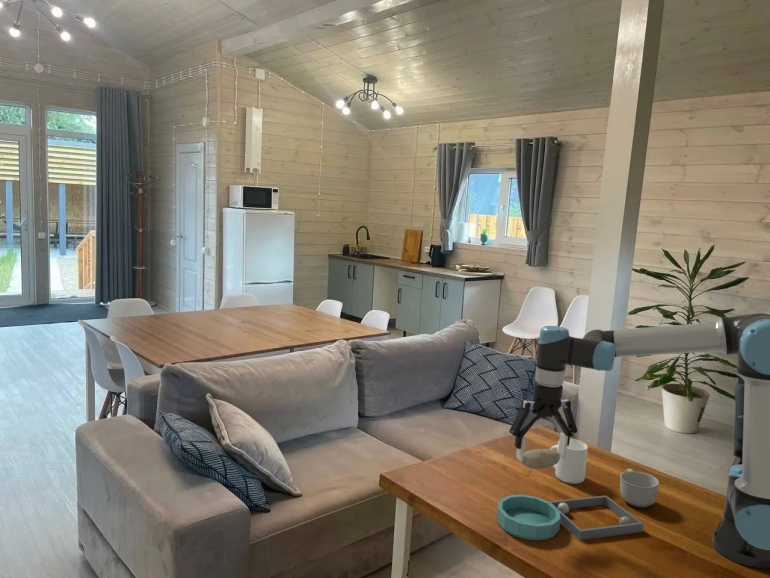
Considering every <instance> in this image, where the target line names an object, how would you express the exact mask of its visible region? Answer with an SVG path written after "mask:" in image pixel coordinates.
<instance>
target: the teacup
mask: <svg viewBox="0 0 770 578" xmlns="http://www.w3.org/2000/svg"><path fill="white" fill-rule="evenodd" d="M619 478H620V480H619V492H620V496H621V498H623V500H624V501H626V503H627V504H629V506H633V507H635V508H641V509H642V508H648V507H649V506H652V505H654V504H655V503H656V502H657V499H658V493H659V492H658V491H659V485H660V482H659V480H658V478H656V477H655V476H653V475H651V474H649V473H646V472H642V471H636V470H635V471H634V470H633V469H632V468H627V469H626V470H625V471H624V472H622V473H621V474H620V477H619Z"/></svg>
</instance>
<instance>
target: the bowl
mask: <svg viewBox="0 0 770 578" xmlns="http://www.w3.org/2000/svg"><path fill="white" fill-rule="evenodd" d="M496 512H497V515H496V522H497V523H498V525H499V526H500V528H501V529H502V530H504V531H505V532H506V533H508V534H509V535H512V536H514V537H516V538H520V539H522V540H528V541H546V540H550V539H552V538H554V537H555V536H556V535H557V534H558V533H559V531H560V528H561V522H560V511H559V510H558V509H557V508H556V507H555V506H554V505H553V504H552V503H550V502H549V501H548V500H545V499H542V498H541V497H538V496H533V495H526V494H512V495H511V494H510V495H507V496H505V497H502V498H500V499H499V500H498V504H497V511H496Z"/></svg>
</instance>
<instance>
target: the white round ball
mask: <svg viewBox="0 0 770 578" xmlns="http://www.w3.org/2000/svg"><path fill="white" fill-rule="evenodd" d="M558 509H559V510H560V511H561V512H562V513H563V514H564V515H566V514H568V513H569V511H570V508H569V506H568V505H567V504H566V503H560V504H559V505H558Z"/></svg>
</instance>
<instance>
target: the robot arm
mask: <svg viewBox="0 0 770 578" xmlns="http://www.w3.org/2000/svg"><path fill="white" fill-rule="evenodd" d="M537 344H538V345H537V354H536V355H537V356H536V365H535V376H534V380H535V382H534V384H533V392H532V394H533V399H532V400H531V401H530V400H529V401H528V400H527V399H523V400H522V401H521V407H520V408H519V411H518V413H517V414H516V416H515V419H514V421H513V423H512V425H511V427H510V429H508V430H509V431H508V432H509V433H510V434H511V435H512V436H514V437H515V438H514V439H515V440H514V447H515V448H516V453H515V454H516V455H515V456H516V457H515V458H516V459H517V460H518V461H520V462H522V461H523V459H524V452H525V447H526V440H527V439H526V437H525V435H527V433H528V431H529V430H530V429H531V428H532V426H534V424H535V423H536V422H537V420H540V418H546V417H549V418H552V417H553V418H554V420H555V421H556V422H557V424H558V426H559V428H560V429H561V430H562V432H560V433H559V439H558V441H559V448H558V453H559V455H560V457H562V458H563V459H565V458H566V450H567V446H569V442H570V439H571V438H572V437H573V436H574V434H577V433H578V428H577V424H576V422H575V418H574V414H573V411H572V401H570V400H569V399H567V398H564V397H563V390H564V389H563V388H564V387H563V385H564V383H565V381H564V380H565V371H566V370H565V369H566V366H567V365H568V366H573V367H579V368H584V369H590V370H595V371H604V372H610V371H612V370H614V366H615V365H614V364H615V358H621V357H641V356H652V355H653V356H654V355H655V356H657V355H659V356H660V355H672V354H673V355H675V354H693V353H708V352H711V353H712V352H720V353H722V354H723V355H737V375H738V376H739V377H740V378H741V379H742V380H743V382H744V389H743V390H744V392H743V393H744V394H743V395H744V396H743V398H744V399H743V425H742V426H743V427H742V429H743V430H742V431H743V432H742V462H741V463H742V464H734V465H732V466H731V467H730V469H729V471H728V472H729V473H728V474H727V476H728V481H727V488H726V495H725V500H724V501H725V503H724V511H723V516H722V518H721V520H720V522H719V523H718V525H717V527H716V528H715V530H714V532H713V535H712V538H711V539H712V540H711V543H712V544H711V545H712V547H713V548H714V549H715V551H717V552H718V553H719V554H720V555H722V556H723V557H725V558H727V559H728V560H730V561H732V562H735V563H737V564H741V565H743V566H747V567H750V568H756V569H770V314H769V313H768V314H767V313H763V312H762V313H758V312H757V313H749V314H743V315H742V314H741V315H735V316H725V317H719V318H718V319H717V320H716V321H711V322H699V323H689V324H688V323H687V324H678V325H677V324H676V325H675V324H674V325H673V324H672V325H663V326H651V327H649V326H648V327H637V328H627V329H626V328H625V329H615V330H614V329H613V330H602V329H591V330H590V331H588V332H586V333H585V335H584V336H583V337H575V336H574V337H573V336H570V331H569V329H568V328H566V327H563V326H562V327H561V326H559V325H558V326H557V325H545V326H542V328H541V329H540V331H539V336H538V342H537ZM561 408H562V412H563V416H564V417H565V419H564V418H563V417H562V415H561V412H560V411H559V409H561ZM565 421H566V422H565Z"/></svg>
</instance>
